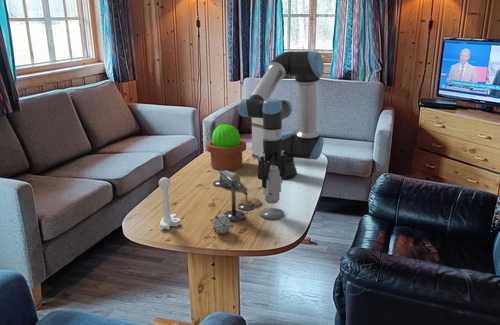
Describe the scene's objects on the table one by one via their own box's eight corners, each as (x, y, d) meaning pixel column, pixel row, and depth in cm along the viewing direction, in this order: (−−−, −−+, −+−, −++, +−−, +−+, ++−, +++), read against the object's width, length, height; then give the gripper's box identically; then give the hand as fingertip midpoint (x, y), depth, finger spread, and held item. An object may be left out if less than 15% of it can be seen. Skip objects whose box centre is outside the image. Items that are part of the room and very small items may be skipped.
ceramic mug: (232, 190, 219) (232, 175, 217) (219, 187, 224) (218, 172, 221) (244, 184, 228) (244, 169, 226) (231, 181, 232) (231, 167, 230)
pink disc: (251, 197, 209) (251, 195, 209) (265, 204, 201) (265, 202, 201) (233, 203, 203) (233, 200, 203) (247, 209, 196) (247, 207, 195)
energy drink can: (262, 200, 189) (262, 166, 185) (274, 197, 192) (274, 164, 188) (270, 205, 184) (270, 170, 180) (282, 202, 187) (282, 167, 183)
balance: (209, 210, 195) (207, 170, 190) (226, 205, 200) (225, 166, 195) (243, 230, 176) (242, 185, 171) (261, 224, 181) (260, 180, 176)
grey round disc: (273, 208, 197) (273, 206, 197) (289, 215, 189) (289, 213, 189) (255, 214, 191) (255, 211, 191) (270, 221, 183) (270, 219, 183)
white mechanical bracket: (166, 218, 188) (162, 173, 182) (183, 219, 187) (181, 173, 181) (157, 230, 177) (154, 182, 171) (176, 231, 176) (173, 182, 171)
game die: (220, 243, 174) (207, 229, 167) (215, 228, 180) (203, 214, 174) (240, 232, 173) (228, 218, 166) (235, 217, 179) (223, 202, 173)
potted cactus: (232, 174, 242) (230, 128, 235) (199, 168, 253) (197, 124, 246) (253, 163, 260) (252, 121, 253) (222, 158, 271) (220, 117, 264)
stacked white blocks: (264, 160, 265) (264, 101, 255) (252, 157, 273) (251, 99, 263) (278, 157, 273) (278, 99, 262) (265, 153, 280) (265, 97, 270)
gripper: (259, 144, 172) (259, 200, 179) (296, 136, 183) (295, 190, 190) (247, 140, 178) (248, 195, 185) (284, 133, 189) (283, 185, 196)
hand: (272, 192), depth 187 cm, fingers closed on energy drink can, 6 cm apart
